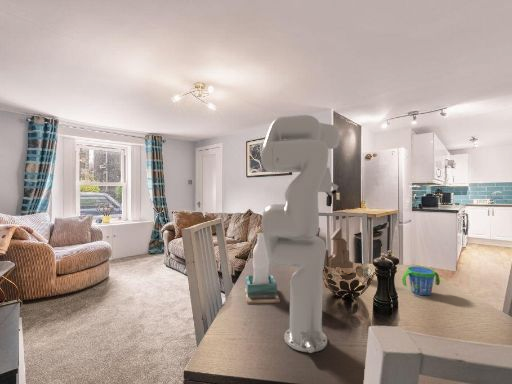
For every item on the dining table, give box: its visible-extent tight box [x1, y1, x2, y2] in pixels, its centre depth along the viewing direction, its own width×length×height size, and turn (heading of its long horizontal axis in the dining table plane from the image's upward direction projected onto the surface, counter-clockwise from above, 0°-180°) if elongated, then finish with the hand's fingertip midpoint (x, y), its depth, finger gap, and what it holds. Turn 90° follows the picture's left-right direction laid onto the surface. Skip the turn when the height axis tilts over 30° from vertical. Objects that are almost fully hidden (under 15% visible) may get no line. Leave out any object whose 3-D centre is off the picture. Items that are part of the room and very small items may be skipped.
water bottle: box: [252, 232, 270, 284], centre depth 116 cm, size 7×7×25 cm
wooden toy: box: [324, 226, 354, 269], centre depth 144 cm, size 15×7×25 cm, turn 109°
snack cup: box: [401, 266, 441, 296], centre depth 118 cm, size 16×10×10 cm
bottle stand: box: [244, 274, 281, 305], centre depth 115 cm, size 16×13×6 cm
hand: (317, 206), depth 110 cm, fingers open, 9 cm apart
